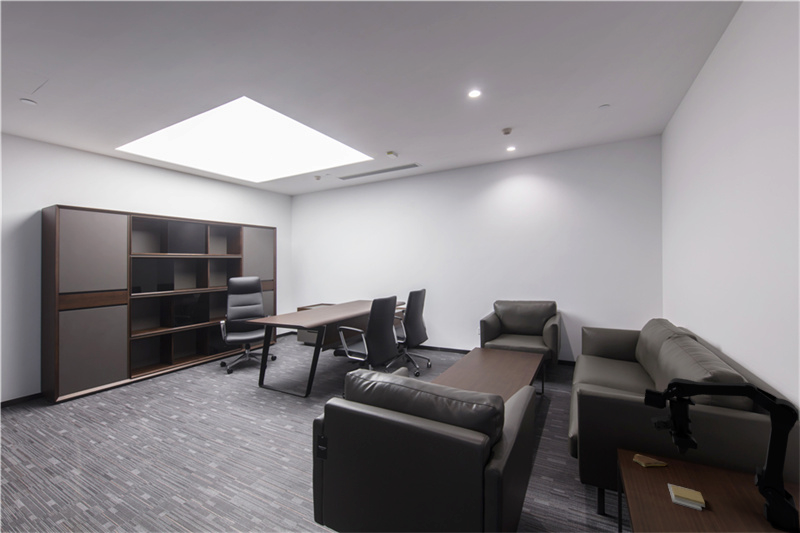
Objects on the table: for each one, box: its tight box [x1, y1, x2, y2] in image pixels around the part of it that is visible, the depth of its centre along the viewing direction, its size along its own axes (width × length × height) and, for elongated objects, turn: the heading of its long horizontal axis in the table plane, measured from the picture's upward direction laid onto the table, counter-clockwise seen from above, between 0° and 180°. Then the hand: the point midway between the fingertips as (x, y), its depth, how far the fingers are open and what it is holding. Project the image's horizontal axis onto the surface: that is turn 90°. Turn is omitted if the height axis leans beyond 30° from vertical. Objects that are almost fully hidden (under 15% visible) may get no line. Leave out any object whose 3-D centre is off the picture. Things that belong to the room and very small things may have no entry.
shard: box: [632, 453, 668, 468], centre depth 134 cm, size 11×8×2 cm
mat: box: [667, 483, 703, 512], centre depth 114 cm, size 8×11×1 cm
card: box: [671, 484, 706, 508], centre depth 113 cm, size 8×2×6 cm
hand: (681, 455), depth 119 cm, fingers closed
